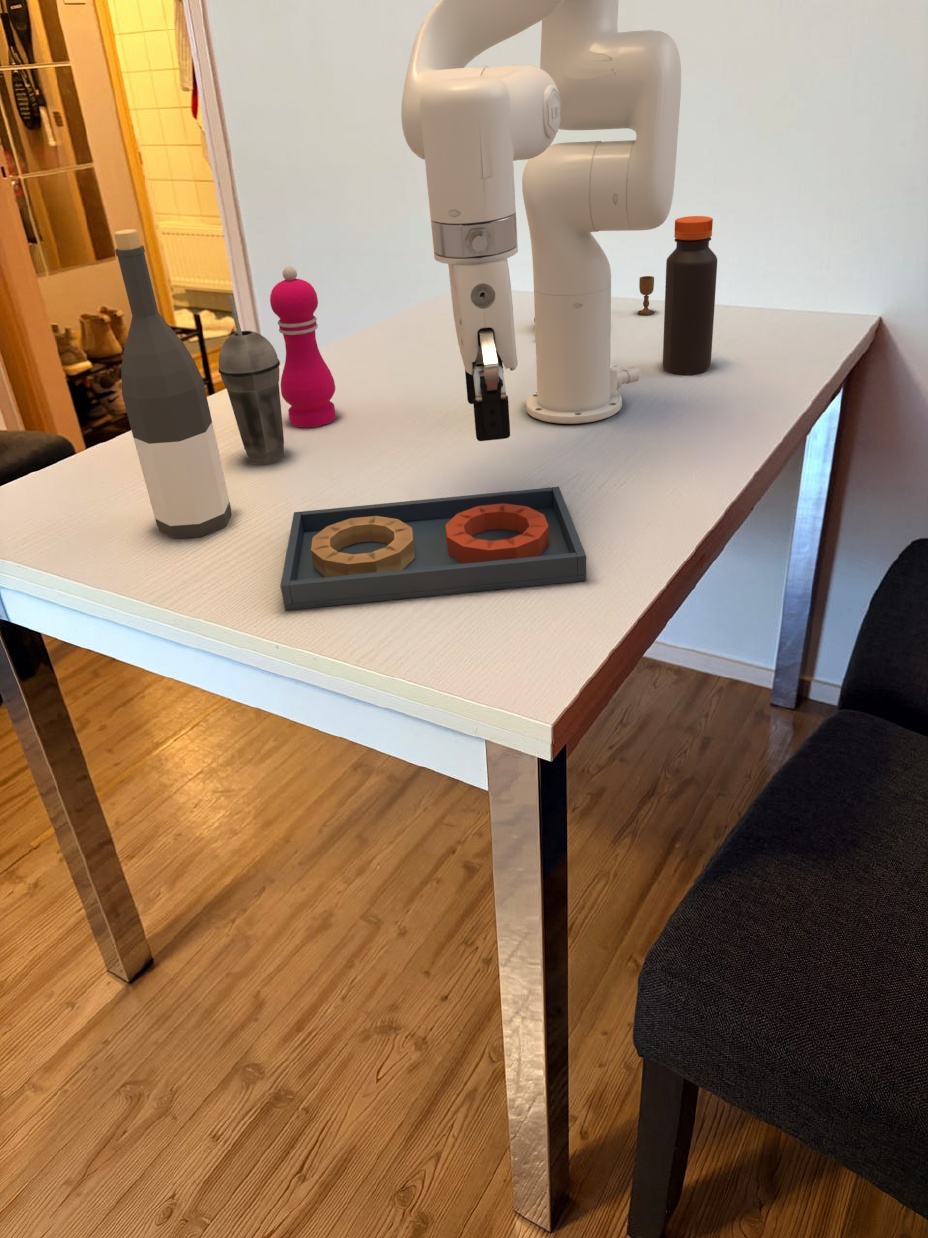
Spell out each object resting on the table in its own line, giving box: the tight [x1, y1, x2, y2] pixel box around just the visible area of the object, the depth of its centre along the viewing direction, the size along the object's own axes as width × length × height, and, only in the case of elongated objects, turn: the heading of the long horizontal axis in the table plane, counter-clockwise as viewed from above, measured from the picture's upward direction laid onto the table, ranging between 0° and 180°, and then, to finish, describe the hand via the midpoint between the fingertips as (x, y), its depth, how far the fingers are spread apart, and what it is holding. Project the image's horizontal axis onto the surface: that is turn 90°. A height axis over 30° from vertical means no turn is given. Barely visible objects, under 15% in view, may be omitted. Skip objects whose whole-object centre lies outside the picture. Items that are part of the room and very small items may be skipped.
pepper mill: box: [269, 265, 337, 429], centre depth 125 cm, size 7×7×20 cm
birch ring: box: [311, 516, 415, 577], centre depth 93 cm, size 10×10×2 cm
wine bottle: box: [113, 228, 232, 540], centre depth 97 cm, size 8×8×30 cm
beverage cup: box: [218, 294, 286, 466], centre depth 114 cm, size 7×7×20 cm
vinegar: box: [662, 215, 718, 375], centre depth 132 cm, size 7×7×20 cm
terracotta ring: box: [445, 504, 549, 564], centre depth 93 cm, size 10×10×2 cm
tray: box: [280, 486, 587, 611], centre depth 93 cm, size 28×16×3 cm, turn 94°
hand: (488, 419), depth 94 cm, fingers open, 9 cm apart
